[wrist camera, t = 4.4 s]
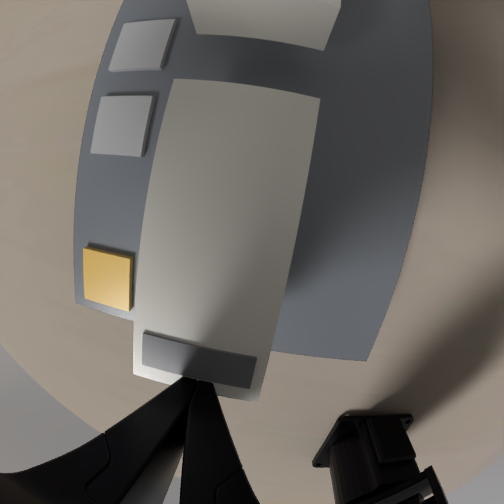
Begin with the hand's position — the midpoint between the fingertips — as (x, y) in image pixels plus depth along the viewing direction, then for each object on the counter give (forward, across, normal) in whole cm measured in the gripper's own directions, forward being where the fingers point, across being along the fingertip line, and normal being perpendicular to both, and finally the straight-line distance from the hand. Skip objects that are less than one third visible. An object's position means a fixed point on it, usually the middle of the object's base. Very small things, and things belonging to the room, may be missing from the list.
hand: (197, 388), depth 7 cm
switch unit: (+7, 0, -9) cm, 12 cm away
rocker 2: (+2, 0, -4) cm, 5 cm away
